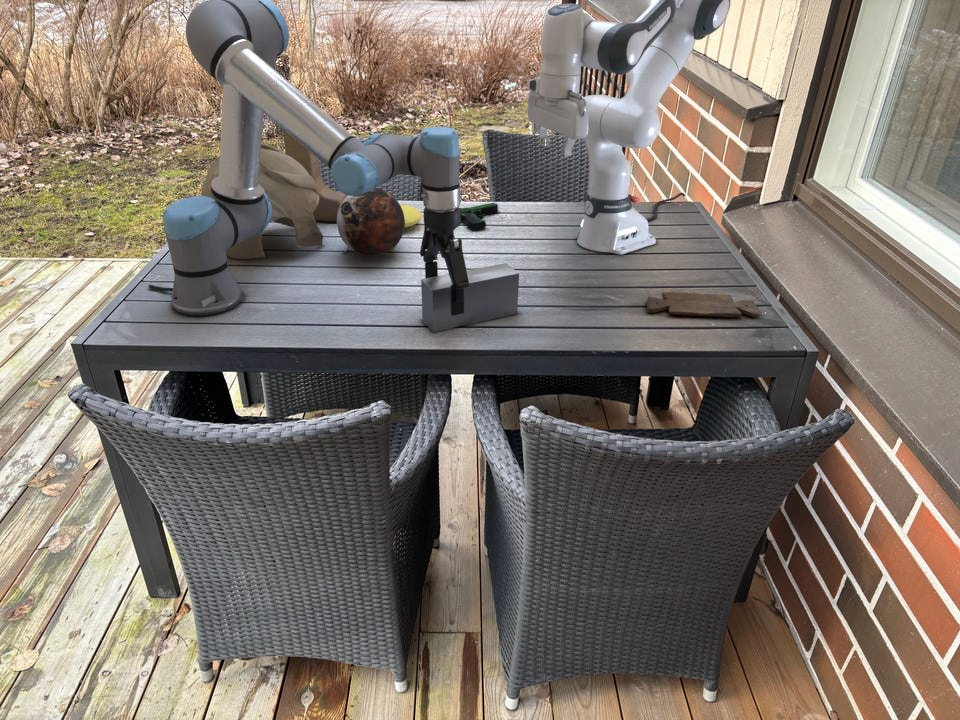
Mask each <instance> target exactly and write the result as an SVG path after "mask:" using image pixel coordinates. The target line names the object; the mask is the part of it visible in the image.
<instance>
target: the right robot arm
mask: <svg viewBox="0 0 960 720" xmlns="http://www.w3.org/2000/svg"><path fill="white" fill-rule="evenodd" d="M627 6H628V9H629V11H630V14H631V16H632V17H633V18H634V19H635V21H632V22H614V21H605V20H597V19H594V18H593V17H591V16H589V15H587V14H586V13H585V11H584V8H583V6H582V5H580V4H577V3H570V2H569V3H560V4H556V5H553V6H552V7H550V8H549V9H548V10H547V11H546V13H545V17H544V21H543V26H542V33H541V46H540V47H541V49H540V51H541V59H542V62H541V65H540V70H539V76H537V77H534V78H532V79H529V80H528V81H527V89H528V91H529V93H528V96H527V117H528V120H529V122H530V123H532V124H535V125H537V133H538V136H539V145H540V146H541V147H544V148H545V147H549V146H550V140H551V138H549V135H548V130H549V131H552V132H554V133H556V134H559V135H562V136H564V142H565V143H564V146H561V152H560V153H561V156H564V157H566V158H567V157H571V156H572V153H573V147H574V145H576V144H575V143H576V142H577V140H583V141H584V145H585V149H586V153H587V158H588V182H587V191H586V192H585V196H584V216H583V219H582V221H581V223H580V227H581V228H580V231H579V234H578V237H577V239H576V242H577V244H578V245H579V246H580V247H582V248H584V249H587V250H590V251H594V252H600V253H611V254H616V255H625V254H628V253H631V252H634V251H637V250H640V249H643V248H646V247H650V246H652V245H655V244H656V243H657V239H656V237H655V236H654V235H653V234H651V233H650V232H649V230H650V229H649V228H650V226H649V222H650V221H652V220H654V219H655V218H656V217H657V215H658V213H657V209H658V206H659V205H660V204H662V203H663V204H664V203H666V202H671V201H675V200H676V199H677V198H679V197H681V196H682V197H684V198H685V197H686V194H685V193H684V192H679V193H677V194H676V195H675V196H674V197H670V198H666V199H661V200H659V201H657V202H656V203H655V204H654V205H653V206H654V207H653V215H652V216H650V217H648V218H646V217H645V216H644V215H642V214H641V213H640V212H638V211H637V210H636V208H634V207H633V203H634V205H639V203H640V202H641V198H640V197H639V196H637V195H636V194H635V195H631V194H630V192H629V191H630V183H631V175H632V167H631V163H630V161H629V160H628V159H627V157H626V156H625V154H624V150H623V148H627V149H646V148H648V147H649V146H651V145H652V144H653V143H654V142H655V141H656V140H657V138H658V136H659V133H660V129H661V120H660V116H659V113H658V108H659V104H660V101H661V99H662V97H663V95H664V94H665V93H666V91H667V89H668V88H669V87H670V85H671V84H672V83H673V82H674V80H675V78H676V77H677V76H678V74H679V73H680V72H681V70H682V69H683V67H684V66H685V64H686V62H687V61H688V59H689V58H690V56H691V54H692V51H693V49H694V47H695V45H696V41H700V40H703V39H705V38H706V37H707V36H709V35H711V34H713V33H714V32H716V31H717V30H718V29H720V27H722V25H723V24H724V23H725V21H726V18H727V17H728V14H729V12H730V8H731V0H627ZM581 67H583V68H588V69H592V70H598V71H605V72H609V73H612V74H615V75H619V76H623V75H625V83H626V86H627V88H628V90H627V92H626V93H625V95H624V96H623V97H621V98H619V97H614V96H610V95H606V94H591V95H586V96H584V95H583V94H582V93H580V88H581V87H580V85H581V75H582V70H581Z"/></svg>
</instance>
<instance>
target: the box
mask: <svg viewBox="0 0 960 720" xmlns="http://www.w3.org/2000/svg"><path fill="white" fill-rule="evenodd" d="M466 270H467V269H466ZM467 275H468V280H469V287H464V313H463V314H458V315H454V316H452V315H451V290H450V286H451V285H452V282H451V279H450V275H449V273H446V274H441V275H438V276H435V277H430V278H421V279H420V287H421V288H420V289H421V290H420V291H421V318H422V319H421V320H422V322H423V323H424V324H425V325H426V326H427V327H428V329H430V330H431V332H432V333H437V332H443V331H445V330H450V329H451V330H452V329H454V328H459V327H460V328H461V327H464V326H468V325H472V324H477V323H482V322H486V321H491V320H496V319H500V318H505V317H509V316H514V315H517V314H518V307H519V304H518V303H519V283H520V273H519V272H518V271H517V270H515V268H513V267H512V266H510V265H509V264H508V263H505V262H504V263H501V264H495V265H490V266H483V267H479V268H473V269H468V270H467Z"/></svg>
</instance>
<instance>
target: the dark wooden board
mask: <svg viewBox="0 0 960 720" xmlns="http://www.w3.org/2000/svg"><path fill="white" fill-rule="evenodd" d="M661 297H662V298H659V297H656V296H648V297H647V301H646V302H647V303H646V309H647V313H650V314H652V313H658V312H663V311H667V310H668V315H674V316H699V317H718V318H719V317H721V318H741V317H742V315H745V316H749V317H751V318H753V317H758V318H759V317H761V316H762V315H761V314H762V313H761V312H760V310H759V308H758V306H757V304H756V303H755V301H754V300H751V299H741V300H738V301H734V300H733V297H732V295H731V294H718V293H696V292H692V293H691V292H671V291H669V292H667V291H666V292H664V291H663V292H661Z"/></svg>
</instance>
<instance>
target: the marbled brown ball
mask: <svg viewBox="0 0 960 720" xmlns="http://www.w3.org/2000/svg"><path fill="white" fill-rule="evenodd" d="M400 205H401V204H400V203H399V201H398V200H397V198H395V197H394V196H393V195H392V191H390V192H388V191H386V190H384V189H381V188H380V187H379V188H378V187H375V188H373V189H372V190H371V191H369V192H366V193H363V194H360V195H357V196H349V195H347V197H346V198H345V199H344V201H343V202H342V204H341V205H340V208H339V210H338V214H337V222H336V227H337V231H338V234H339V237H340V238H341V240H342V241H343V244H345V246H347V247H346V248H345V249H344V252H343V253H346V252H348V251H349V249H350V250H352V251H353V252H355V253H356V254H359V255H362V256H364V257H365V256H366V257H378V256H383V255H385V254H387V253H389V252H391V251H392V250H393V249H394V248H395V247H396V246H397V245H398V244H399V242H400V241H401V240H402V238H403V235H404V232H405V229H406V228H405V218H404V213H403V210H402V208H401V206H400Z"/></svg>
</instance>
